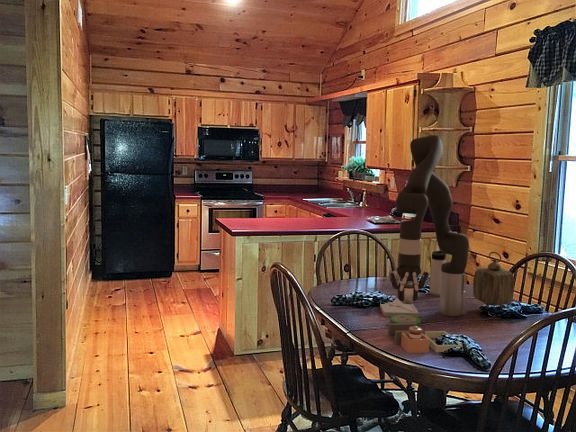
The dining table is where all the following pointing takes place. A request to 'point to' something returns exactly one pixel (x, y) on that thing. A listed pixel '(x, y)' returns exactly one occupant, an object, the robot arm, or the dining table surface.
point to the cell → (408, 293)
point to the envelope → (398, 309)
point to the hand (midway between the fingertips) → (407, 300)
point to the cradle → (399, 331)
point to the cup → (415, 344)
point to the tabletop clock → (493, 284)
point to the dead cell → (415, 332)
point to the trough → (439, 347)
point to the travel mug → (436, 272)
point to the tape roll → (405, 319)
